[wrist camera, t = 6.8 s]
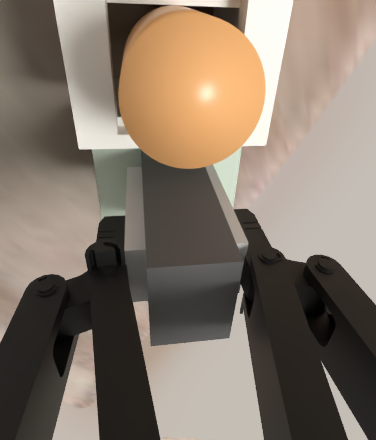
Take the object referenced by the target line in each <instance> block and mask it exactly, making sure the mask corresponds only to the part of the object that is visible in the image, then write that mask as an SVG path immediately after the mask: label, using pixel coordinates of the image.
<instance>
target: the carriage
mask: <svg viewBox="0 0 376 440" xmlns="http://www.w3.org/2000/svg"><path fill="white" fill-rule="evenodd" d="M241 149H242V146H241V147H240V148H239V149H238V150H237V151H236V152H234V153H233V154H232V155H231V156H229V157H227V158H226V159H224V160H222V161H220V162H218V163H216V164H213V166H214V168H215V170H216V172H217V175H218V177H219V179H220V181H221V183H222V186H223V188H224V190H225V192H226V194H227V197H228V199H229V201H230V203H231V205H232V208H233V205H234V198H235V191H236V184H237V177H238V170H239V163H240V156H241ZM92 154H93V161H94V168H95V175H96V181H97V188H98V195H99V201H100V208H101V215H102V219H103V218H104V217H105V216H124V215H125V213H126V182H127V167H142V185H143V205H144V225H145V246H146V266H147V285H148V303H149V322H150V339H151V346H156V345H167V344H176V343H186V342H195V341H205V340H214V339H224V338H229V336H230V331H231V326H232V321H233V315H234V310H235V304H236V299H237V294H238V289H239V283H240V278H241V273H242V268H243V262H244V261H243V259H242V256H241V254H240V251H239V249H238V246H237V244H236V242H235V239H234V237H233V234H232V232H231V229H230V227H229V224H228V222H227V219H226V217H225V214H224V212H223V209H222V207H221V205H220V202H219V200H218V197H217V195H216V192H215V190H214V187H213V185H212V182H211V180H210V177H209V175H208V172H207V170H206V168H205V167H202V168H194V169H182V168H175V167H171V166H168V165H165V164H162V163H160V162H158V161H156V160H154V159H152V158H151V157H149V156H148V155H147V154H145V153H144V152H143V151H142V150H141V149H140V148H128V149H92Z"/></svg>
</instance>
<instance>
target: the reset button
mask: <svg viewBox="0 0 376 440" xmlns="http://www.w3.org/2000/svg"><path fill="white" fill-rule="evenodd" d="M265 93H266V82H265V75H264V70H263V66H262V62H261V60H260V58H259V55H258V53H257V51H256V49H255V48H254V46H253V44H252V43H251V42H250V41H249V39H248V38H247V37H246V36H245V35H244V34H243V33H242V32H241V31H240V30H239V29H237V28H236V27H234V26H233V25H231V24H230V23H228V22H226V21H224V20H222V19H220V18H217V17H214V16H211V15H208V14H205V13H202V12H199V11H196V10H194V9H191V8H187V7H184V6H178V5H168V6H163V7H159V8H157V9H154V10H152V11H150V12H149V13H147V14H146V15H144V16H143V17H142V18H141V19H140V20H139V21H138V22H137V23H136V24H135V26H134V27H133V28H132V30H131V32H130V34H129V36H128V38H127V41H126V44H125V48H124V53H123V60H122V67H121V74H120V81H119V90H118V99H119V108H120V113H121V117H122V120H123V123H124V125H125V128H126V130H127V132H128V134H129V135H130V137H131V139H132V140H133V141H134V142H135V144H136V145H137V146H138V147H139V148H140V149H141V150H142V151H143V152H144V153H145V154H147V155H148V156H149V157H151V158H152V159H154V160H156V161H158V162H160V163H162V164H165V165H168V166H171V167H175V168H182V169H194V168H202V167H206V166H210V165H213V164H216V163H218V162H220V161H222V160H224V159H226V158H227V157H229V156H231V155H232V154H233V153H234V152H236V151H237V150H238V149H239V148H240V147H241V146H242V145H243V144H244V143H245V142H246V141H247V139H248V138H249V137H250V136H251V134H252V132H253V131H254V129H255V128H256V126H257V124H258V121H259V119H260V116H261V114H262V111H263V106H264V102H265Z"/></svg>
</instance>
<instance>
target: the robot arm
mask: <svg viewBox="0 0 376 440" xmlns="http://www.w3.org/2000/svg"><path fill="white" fill-rule="evenodd" d="M205 168H206V170H207V172H208V175H209V177H210V180H211V182H212V185H213V187H214V190H215V192H216V195H217V197H218V200H219V202H220V205H221V207H222V209H223V212H224V214H225V217H226V219H227V222H228V224H229V227H230V229H231V232H232V234H233V237H234V239H235V242H236V244H237V246H238V249H239V251H240V254H241V256H242V259H243V261H244V262H243V268H242V273H241V278H240V283H239V289H238V293H239V290H240V285H242V288H243V291H244V294H243V298H242V303H241V308H240V314H242V313H243V309H244V315H245V322H246V327H247V334H248V341H249V347H250V353H251V359H252V365H253V372H254V379H255V385H256V390H257V398H258V404H259V410H260V416H261V423H262V429H263V435H264V440H348V438H347V436H346V432H345V430H344V427H343V424H342V421H341V418H340V415H339V412H338V409H337V406H336V404H335V401H334V398H333V395H332V392H331V389H330V386H329V383H328V380H327V378H326V374H325V372H324V369H323V366H322V363H323V365H324V366H325V368H326V370H327V371H328V373H329V375H330V376H331V378H332V380H333V381H334V383H335V385H336V386H337V388H338V390H339V391H340V393H341V395H342V396H343V398H344V400H345V401H346V403H347V405H348V406H349V408H350V410H351V411H352V413H353V415H354V416H355V418H356V420H357V421H358V423H359V425H360V426H361V428H362V430H363V431H364V433H365V435H366V436H367V438H368V440H376V305H375V304H374V303H373V302H372V300H371V299H370V298H369V297H368V296H367V295H366V294H365V292H364V291H363V290H362V289H361V288H360V287H359V285H358V284H357V283H356V282H355V281H354V280H353V279H352V278H351V276H350V275H349V274H348V273H347V272H346V271H345V269H344V268H343V267H342V266H341V265H340V264H339V263H338V262H337V261H336V260H334V259H332V258H330V257H327V256H324V255H313V256H310V257H309V258H308V260H307V262H306V263H303V262H297V261H291V260H287V259H285V257H284V255H283V254H282V253H281V252H280V251H279V250H277V249H274V248H272V247H271V245H270V243H269V241H268V239H267V238H266V236H265V234H264V232H263V230H262V229H261V226H260V225H259V223H258V221H257V219H256V217H255V215H254V214H253V213H251V212H250V211H249V210H248V209H233V208H232V205H231V203H230V201H229V199H228V197H227V194H226V192H225V190H224V188H223V186H222V183H221V181H220V179H219V177H218V175H217V172H216V170H215V168H214V166H213V165H210V166H206V167H205ZM85 258H86V263H87V268H88V271H87V272H85V273H84V274H82V275H80V276H78V277H75V278H72V279H69V280H66V281H65V279H64V278H63V277H61V276H59V275H54V274H50V275H44V276H41V277H39V278H37V279H35V280H34V281H32V282H31V283H30V284H29V285H28V287H27V288H26V290H25V292H24V294H23V296H22V298H21V301H20V303H19V305H18V307H17V309H16V311H15V313H14V315H13V317H12V320H11V322H10V324H9V326H8V328H7V330H6V332H5V334H4V336H3V339H2V341H1V343H0V440H52V437H53V433H54V429H55V426H56V422H57V418H58V414H59V410H60V406H61V402H62V398H63V394H64V391H65V387H66V383H67V379H68V375H69V371H70V367H71V363H72V359H73V355H74V352H75V348H76V344H77V340H78V336H79V334H80V333H82V332H85V331H88V330H90V329H92V334H93V349H94V363H95V378H96V393H97V407H98V422H99V436H100V440H160V436H159V430H158V425H157V420H156V416H155V411H154V406H153V401H152V396H151V391H150V386H149V381H148V376H147V371H146V366H145V361H144V356H143V351H142V346H141V341H140V336H139V331H138V326H137V321H136V316H135V311H134V306H133V302H137V301H148V285H147V266H146V246H145V225H144V205H143V185H142V167H127V182H126V213H125V215H124V216H105V217H104V218H103V219H102V220H101V222H100V223H99V227H98V234H97V240H96V242H95V243H94V244H92V245H90V246H89V247H88V248H87V250H86V252H85ZM321 361H322V363H321Z"/></svg>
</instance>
